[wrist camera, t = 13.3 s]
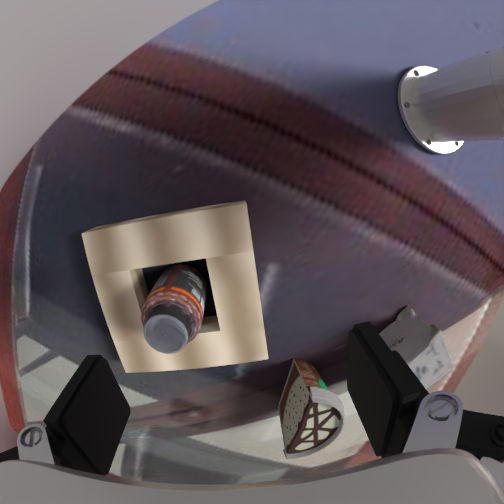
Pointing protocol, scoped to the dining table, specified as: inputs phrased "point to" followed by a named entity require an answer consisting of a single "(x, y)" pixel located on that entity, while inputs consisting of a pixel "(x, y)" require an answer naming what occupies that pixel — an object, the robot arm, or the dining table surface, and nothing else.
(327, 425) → the food container
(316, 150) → the dining table surface
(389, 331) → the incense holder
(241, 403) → the dining table surface
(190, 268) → the supplement bottle
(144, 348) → the socket board
